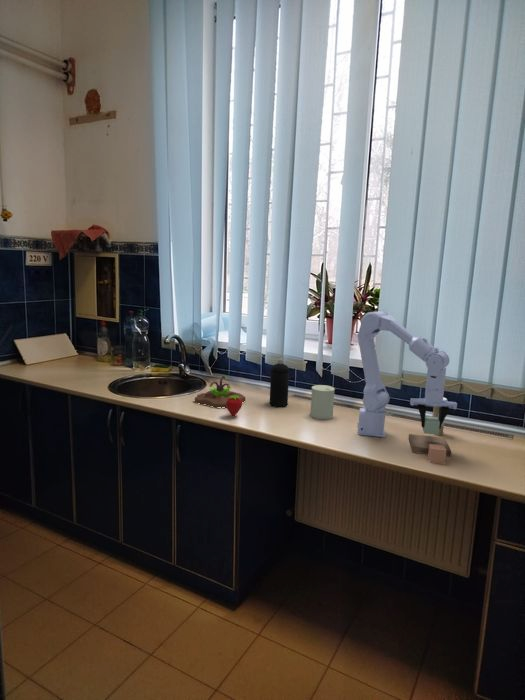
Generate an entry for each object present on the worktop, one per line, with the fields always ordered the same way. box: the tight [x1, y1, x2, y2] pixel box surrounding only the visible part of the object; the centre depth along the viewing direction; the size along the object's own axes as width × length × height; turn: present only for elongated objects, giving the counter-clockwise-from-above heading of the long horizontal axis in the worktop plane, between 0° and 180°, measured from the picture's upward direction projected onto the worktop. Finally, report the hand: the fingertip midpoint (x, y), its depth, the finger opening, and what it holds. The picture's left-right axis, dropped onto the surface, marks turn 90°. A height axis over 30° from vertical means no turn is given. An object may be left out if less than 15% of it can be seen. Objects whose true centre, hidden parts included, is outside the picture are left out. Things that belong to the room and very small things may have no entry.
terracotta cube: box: [427, 444, 447, 465], centre depth 150 cm, size 4×4×4 cm
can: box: [309, 384, 336, 420], centre depth 190 cm, size 9×9×12 cm
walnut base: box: [407, 433, 452, 457], centre depth 161 cm, size 12×12×2 cm
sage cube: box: [422, 415, 440, 436], centre depth 160 cm, size 4×4×4 cm
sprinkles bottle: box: [431, 396, 448, 436], centre depth 174 cm, size 5×5×14 cm
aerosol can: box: [268, 357, 291, 408], centre depth 201 cm, size 8×8×20 cm
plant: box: [194, 375, 246, 409], centre depth 204 cm, size 20×20×11 cm
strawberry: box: [226, 395, 243, 417], centre depth 185 cm, size 6×8×10 cm
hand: (430, 427), depth 160 cm, fingers closed on sage cube, 4 cm apart
